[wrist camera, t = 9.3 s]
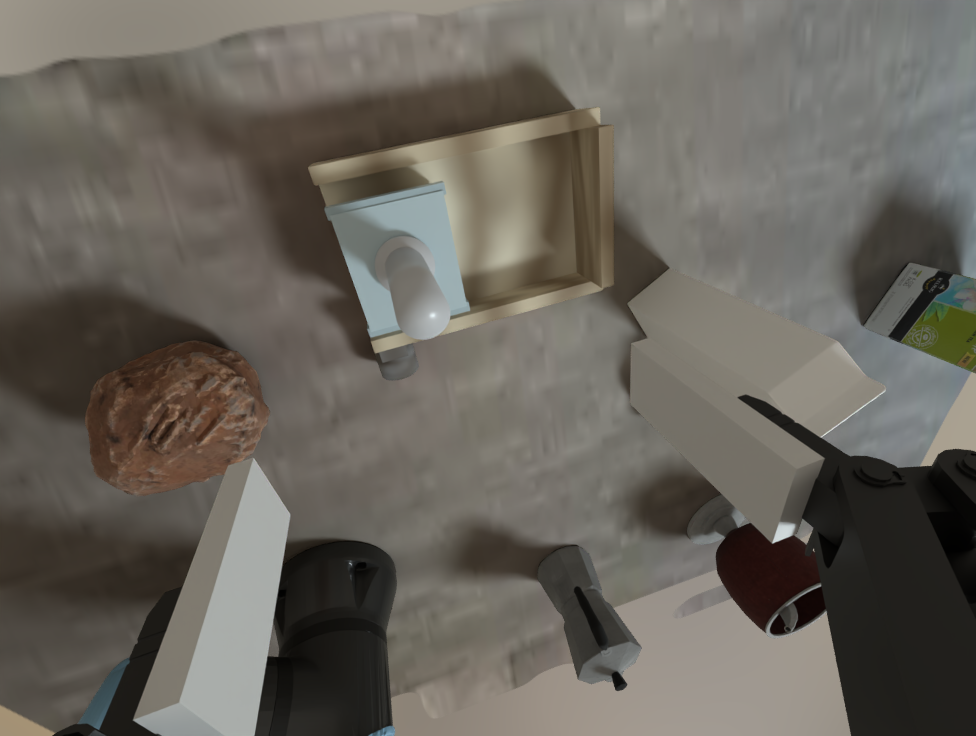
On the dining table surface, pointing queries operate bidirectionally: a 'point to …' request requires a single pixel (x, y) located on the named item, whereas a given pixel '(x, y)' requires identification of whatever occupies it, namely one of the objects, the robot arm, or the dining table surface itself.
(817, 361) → the milk
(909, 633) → the robot arm
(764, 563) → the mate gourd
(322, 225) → the dining table surface
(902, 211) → the dining table surface
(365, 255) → the cylinder on square plate
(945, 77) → the dining table surface
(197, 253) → the dining table surface
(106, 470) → the decorative rock
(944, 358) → the tea box
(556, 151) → the tray
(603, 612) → the coffeepot
